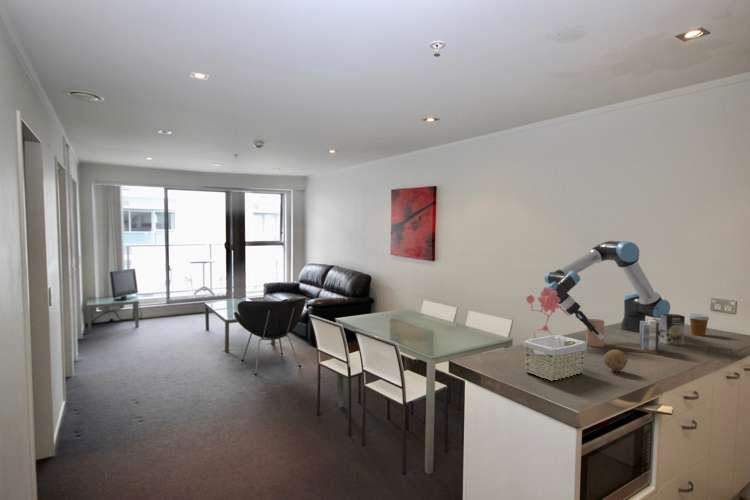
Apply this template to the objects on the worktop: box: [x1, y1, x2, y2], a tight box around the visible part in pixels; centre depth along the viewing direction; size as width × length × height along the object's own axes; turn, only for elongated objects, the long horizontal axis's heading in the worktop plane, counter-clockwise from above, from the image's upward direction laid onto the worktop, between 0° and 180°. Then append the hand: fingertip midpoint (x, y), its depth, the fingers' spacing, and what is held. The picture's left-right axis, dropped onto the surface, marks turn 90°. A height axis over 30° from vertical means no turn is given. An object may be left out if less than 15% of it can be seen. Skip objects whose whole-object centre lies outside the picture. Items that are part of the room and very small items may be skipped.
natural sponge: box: [603, 349, 628, 373], centre depth 182 cm, size 9×9×10 cm
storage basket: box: [523, 334, 588, 379], centre depth 180 cm, size 24×16×15 cm
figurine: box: [526, 286, 570, 338], centre depth 203 cm, size 15×26×35 cm, turn 27°
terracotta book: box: [585, 318, 605, 348], centre depth 225 cm, size 5×8×14 cm, turn 67°
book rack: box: [613, 316, 660, 355], centre depth 218 cm, size 12×18×16 cm, turn 67°
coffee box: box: [659, 313, 686, 346], centre depth 229 cm, size 9×6×16 cm
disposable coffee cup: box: [688, 313, 710, 337], centre depth 247 cm, size 10×10×12 cm
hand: (602, 336), depth 224 cm, fingers open, 8 cm apart
